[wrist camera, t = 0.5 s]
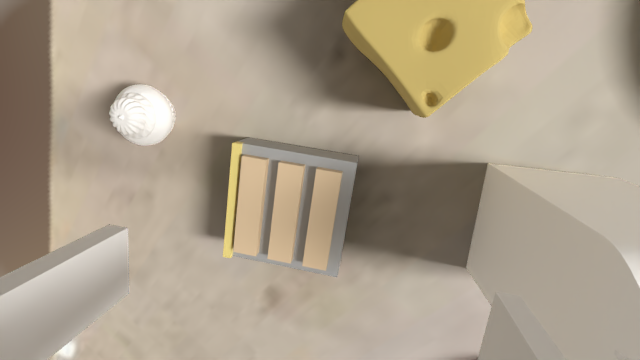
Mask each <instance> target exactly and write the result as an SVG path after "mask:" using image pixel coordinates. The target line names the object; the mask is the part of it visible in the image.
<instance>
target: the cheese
mask: <svg viewBox="0 0 640 360" xmlns="http://www.w3.org/2000/svg"><path fill="white" fill-rule="evenodd" d="M342 27H343V30H344V32H345V33H346V35H347V36H348V38H349V39H350V40H351V42H352V43H353V44H354V45H355V46H356V47H357V49H358V50H359V51H360V52H361V53H363V54H364V55H365V56H366V57H367V58H368V59H369V60H370V61H371V62H372V63H373V64H375V65H376V66H377V67H378V69H379V70H380V71H381V72H382V73H383V74H384V75H385V76H386V77H387V79H388V80H389V81H390V82H391V84H392V85H393V86H394V87H395V89H396V90H397V91H398V93H399V94H400V96H401V97H402V98H403V100H404V101H405V102H406V104H407V105H408V107H409V108H410V110H411V111H412V113H413V114H415V115H418V116H420V117H428V116H430V115H431V114H432V113H434V112H435V111H436V110H437V109H439V108H440V107H441V106H442V105H444V104H445V103H446V102H447V101H448V100H450V99H451V98H452V97H453V96H455V95H456V94H457V93H458V92H460V91H461V90H462V89H463V88H465V87H466V86H467V85H468V84H470V83H471V82H472V81H473V80H475V79H476V78H477V77H479V76H480V75H481V74H482V73H484V72H485V71H486V70H488V69H489V68H491V67H492V66H493V65H495V64H496V63H498V62H499V61H500V60H502V59H503V58H504V57H505V56H506V55H507V54H508V51H509V48H510V47H511V46H512V45H514V44H515V43H516V42H518V41H519V40H521V39H522V38H524V37H525V36H527V35H528V34H529V33H530V32H531V31H532V24H531V22H530V21H529V19H528V17H527V14H526V10H525V0H357V1H355V2H354V3H353V4H352V5H351V6H350V7H349V8H348V9H347V10H346V11H345V13H344V17H343V21H342Z"/></svg>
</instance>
